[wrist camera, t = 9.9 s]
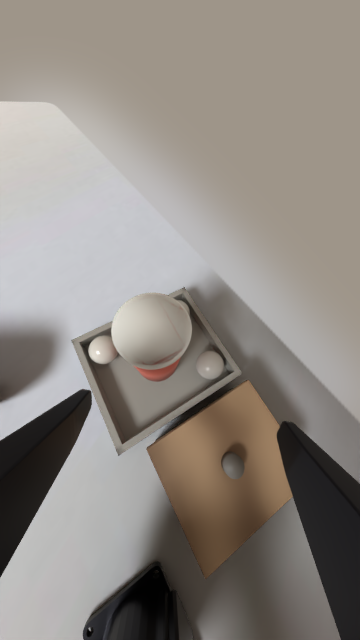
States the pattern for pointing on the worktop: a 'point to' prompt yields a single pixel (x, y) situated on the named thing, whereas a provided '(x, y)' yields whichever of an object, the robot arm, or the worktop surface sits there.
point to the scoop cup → (152, 334)
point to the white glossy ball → (184, 306)
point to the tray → (152, 382)
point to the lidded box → (223, 473)
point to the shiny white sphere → (209, 365)
